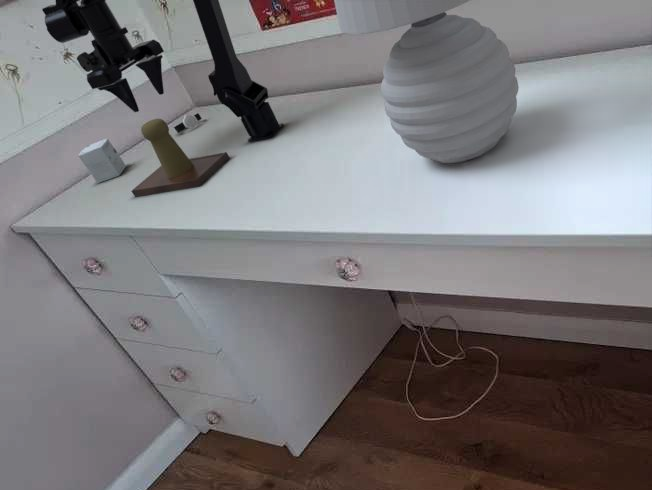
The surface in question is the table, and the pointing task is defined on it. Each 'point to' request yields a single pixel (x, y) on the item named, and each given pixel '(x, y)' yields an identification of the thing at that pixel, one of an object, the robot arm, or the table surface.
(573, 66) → the table surface
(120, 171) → the white cardboard box
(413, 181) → the table surface
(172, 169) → the olive yellow pawn
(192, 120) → the watch
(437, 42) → the table lamp
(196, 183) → the walnut board
